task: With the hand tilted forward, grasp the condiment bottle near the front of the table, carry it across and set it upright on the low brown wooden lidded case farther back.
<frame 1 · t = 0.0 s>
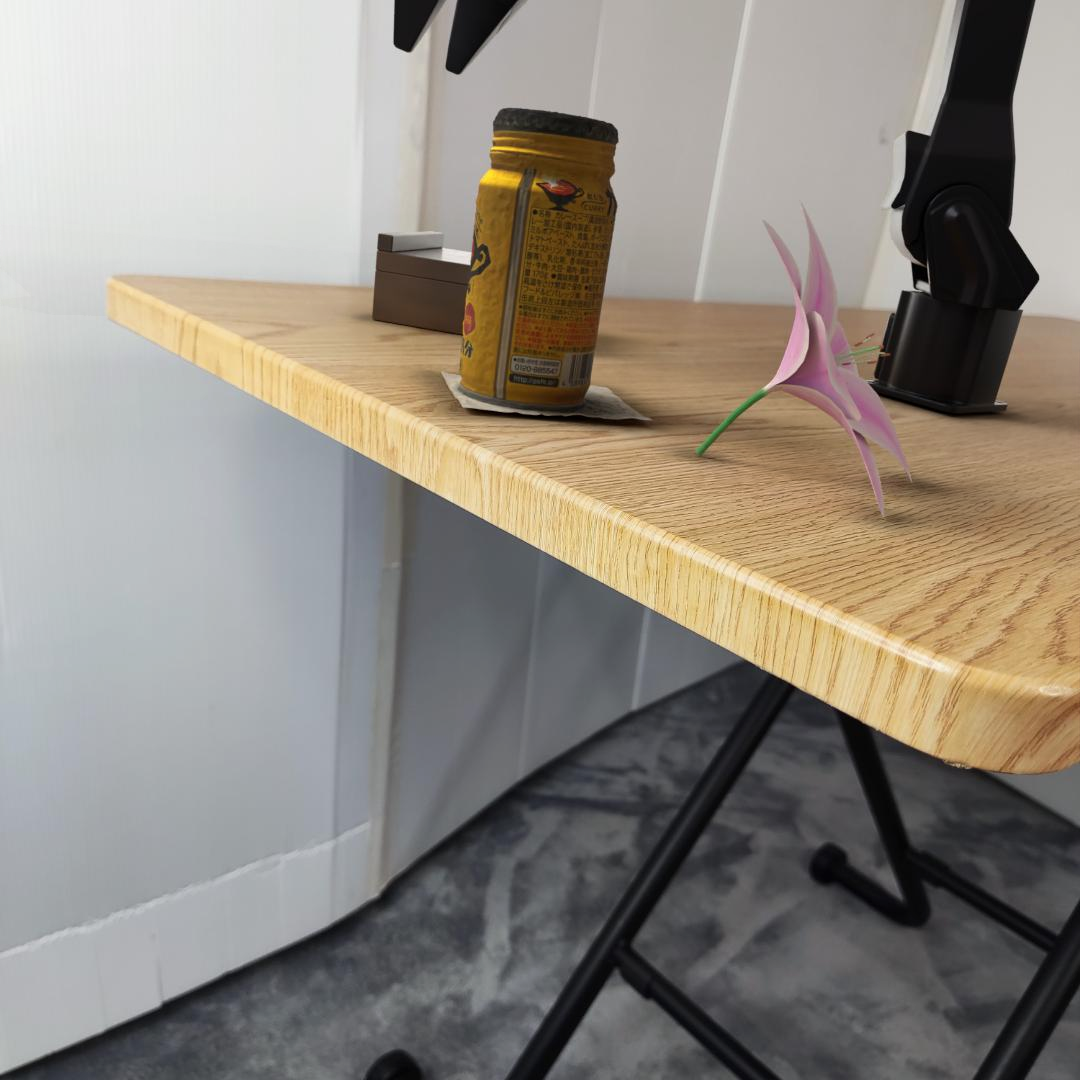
hand: (429, 62, 59), 15 cm above the table, tool pointing down, fingers open, 9 cm apart
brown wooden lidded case: (477, 325, 63), on the table
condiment: (540, 404, 44), on the table
lily: (801, 483, 37), on the table
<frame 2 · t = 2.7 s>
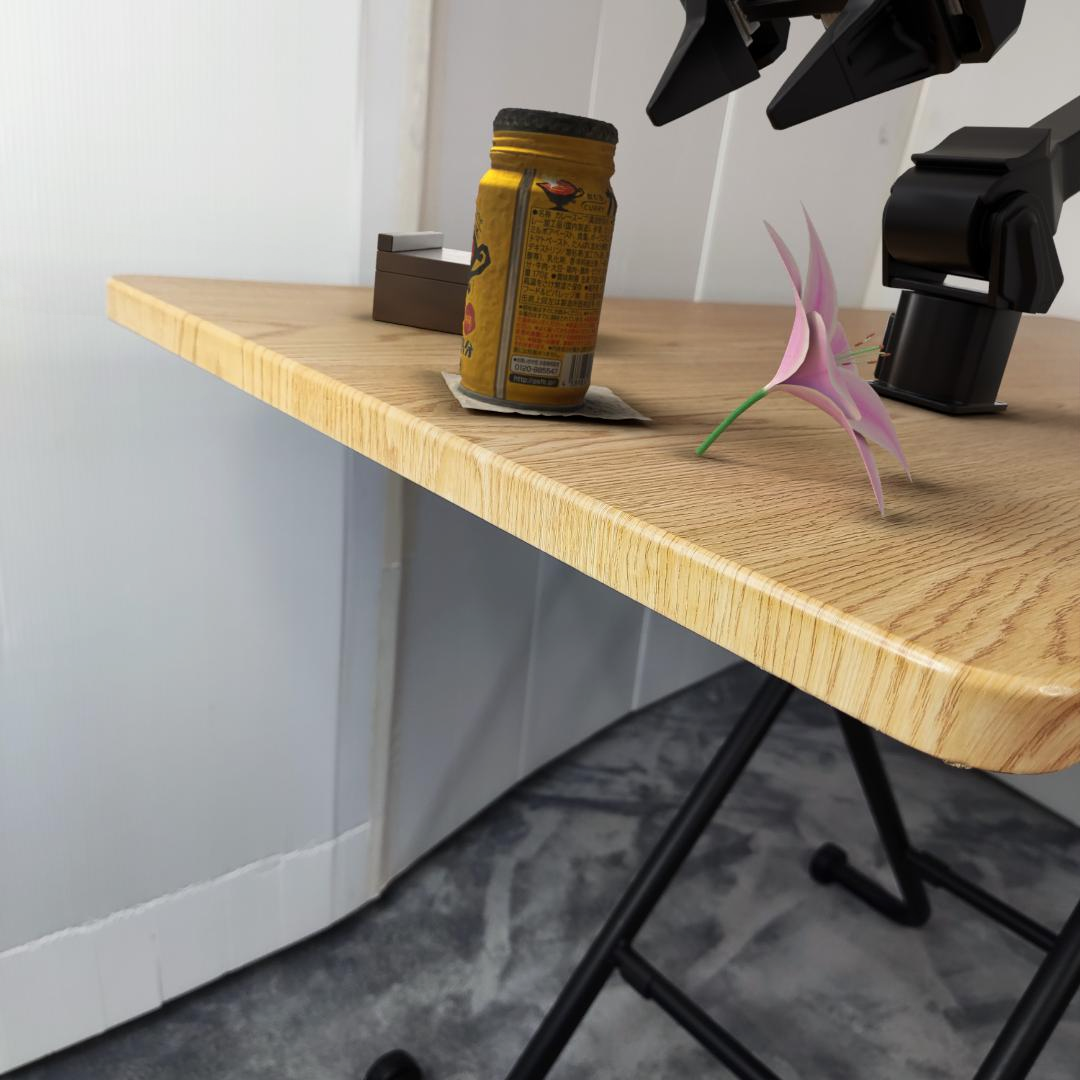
hand: (706, 120, 44), 13 cm above the table, tool tilted 40°, fingers open, 9 cm apart
nothing on the table moved.
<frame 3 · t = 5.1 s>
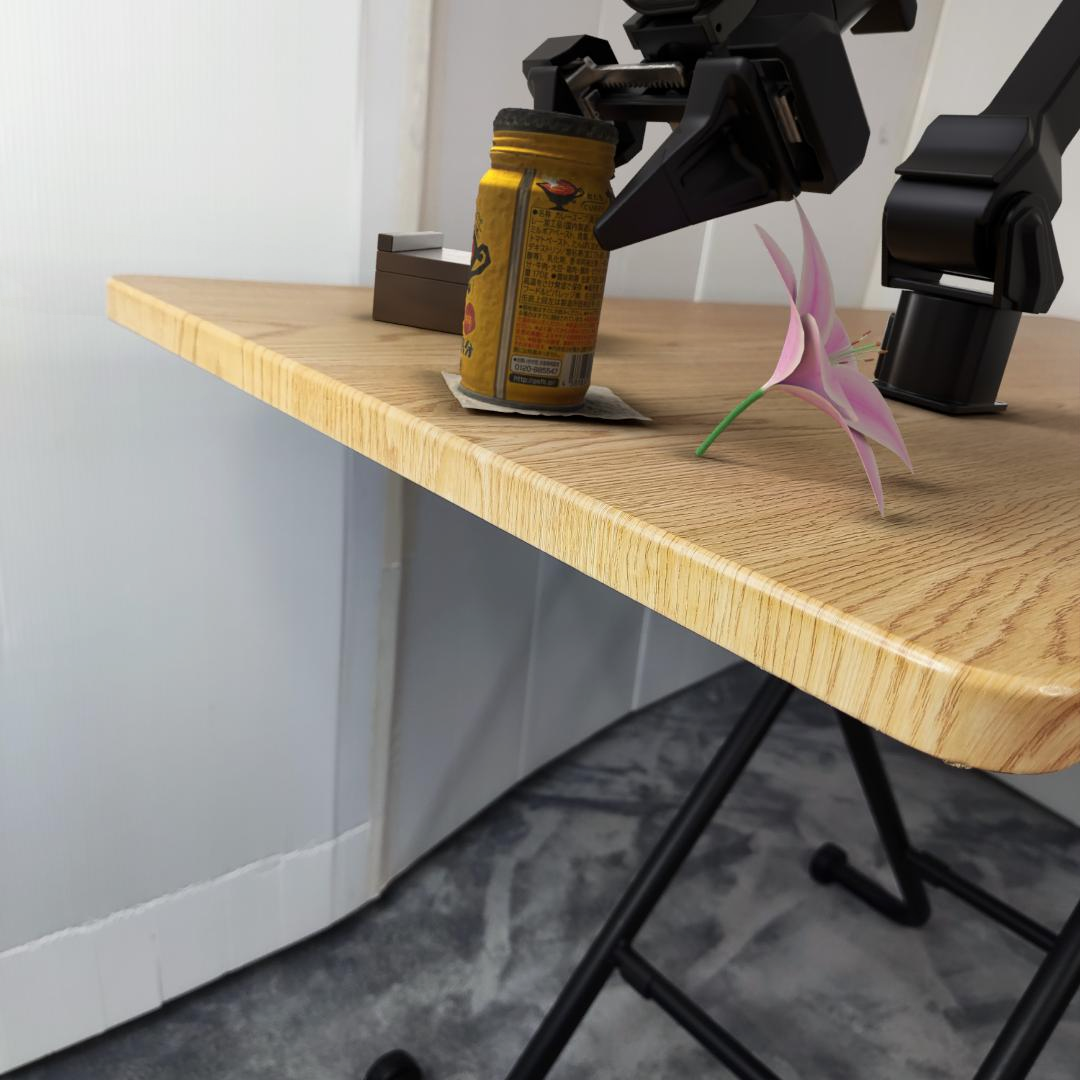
hand: (540, 229, 40), 7 cm above the table, tool tilted 45°, fingers open, 9 cm apart
nothing on the table moved.
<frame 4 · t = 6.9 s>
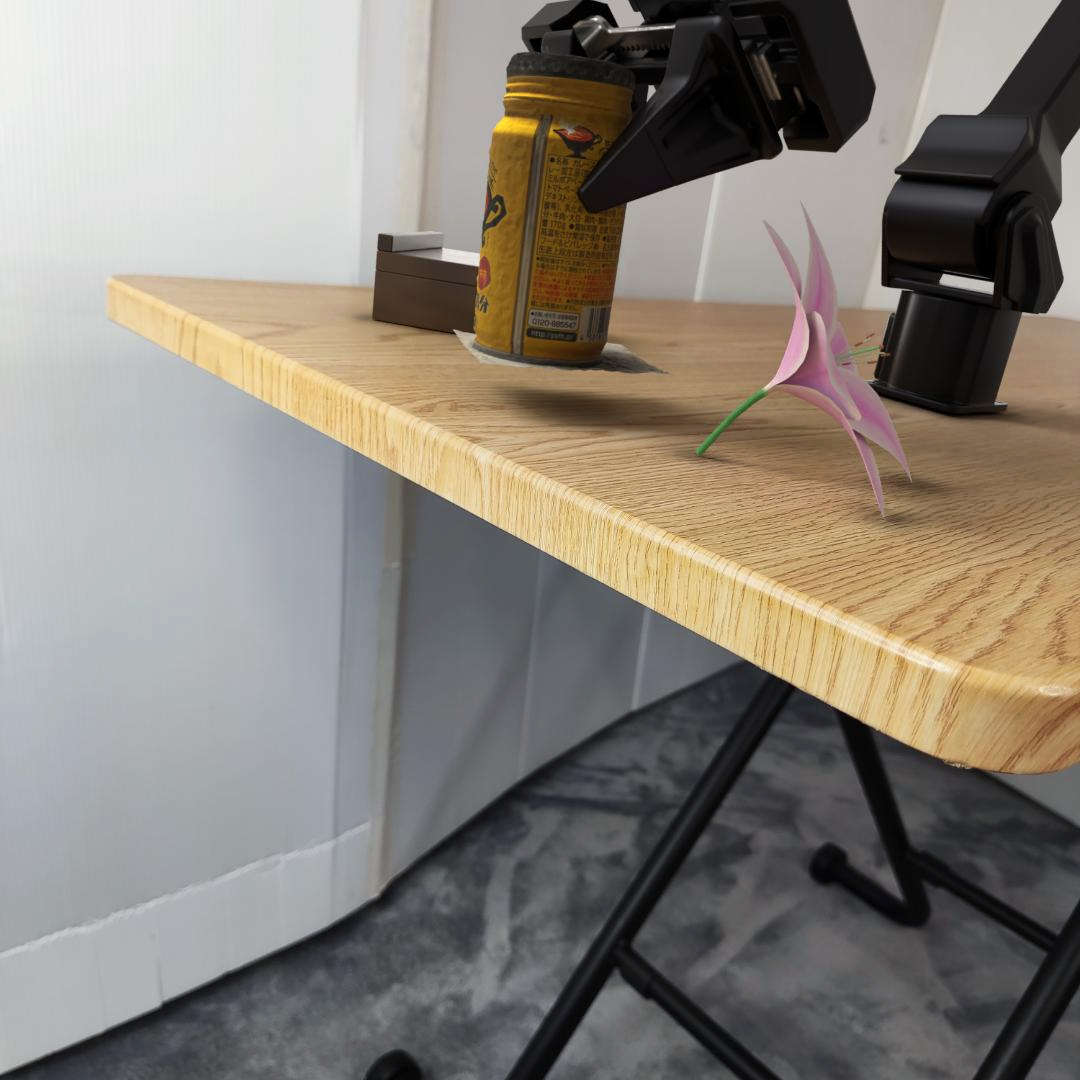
hand: (542, 197, 40), 9 cm above the table, tool tilted 45°, fingers closed on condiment, 6 cm apart
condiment: (556, 361, 43), point 2 cm above the table, touching gripper
everything else where it was.
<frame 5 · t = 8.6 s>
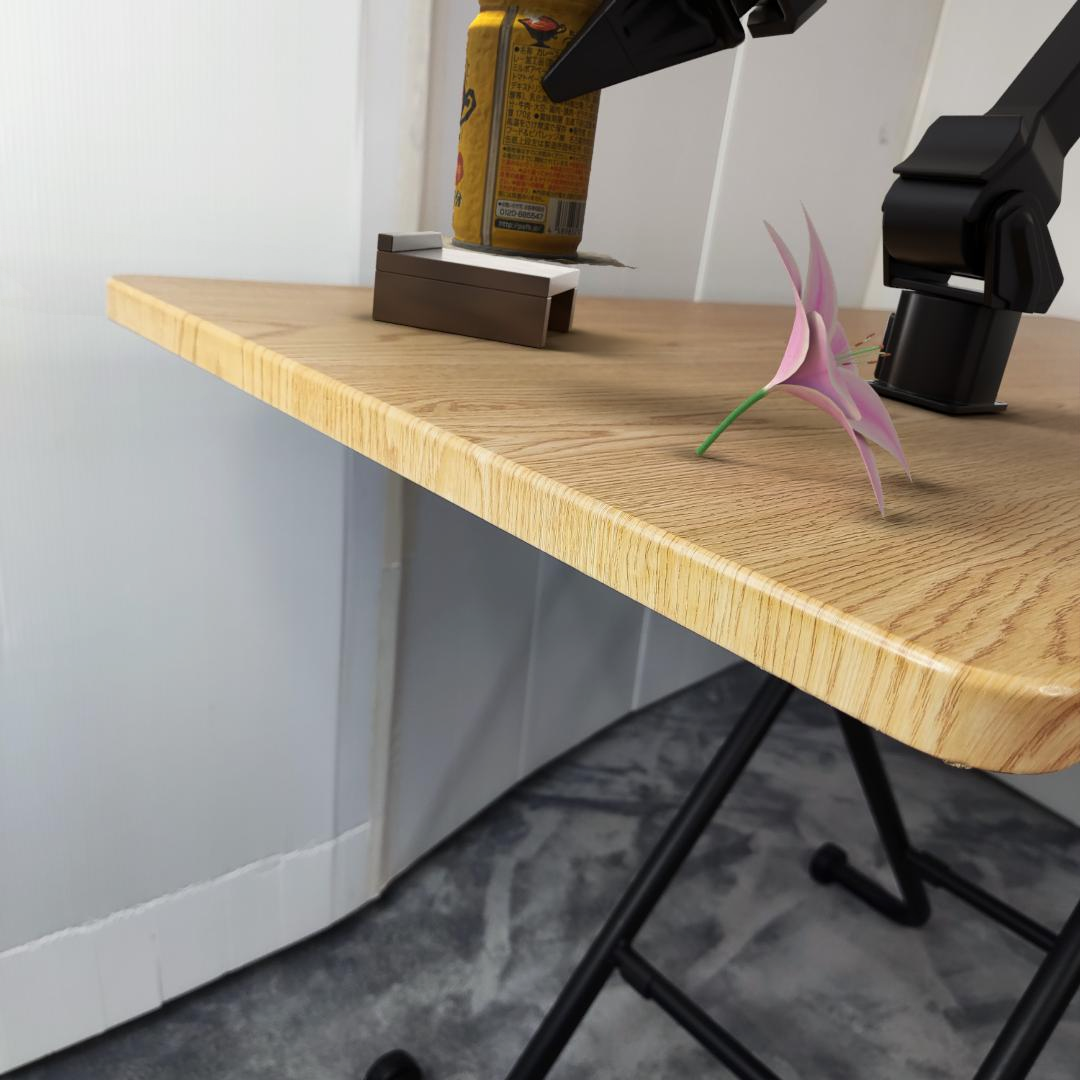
hand: (517, 94, 41), 13 cm above the table, tool tilted 45°, fingers closed on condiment, 6 cm apart
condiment: (533, 261, 44), point 6 cm above the table, touching gripper
everything else where it was.
when the fingers open (12 cm above the table, at t = 11.8 s): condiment stays where it is, resting on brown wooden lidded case.
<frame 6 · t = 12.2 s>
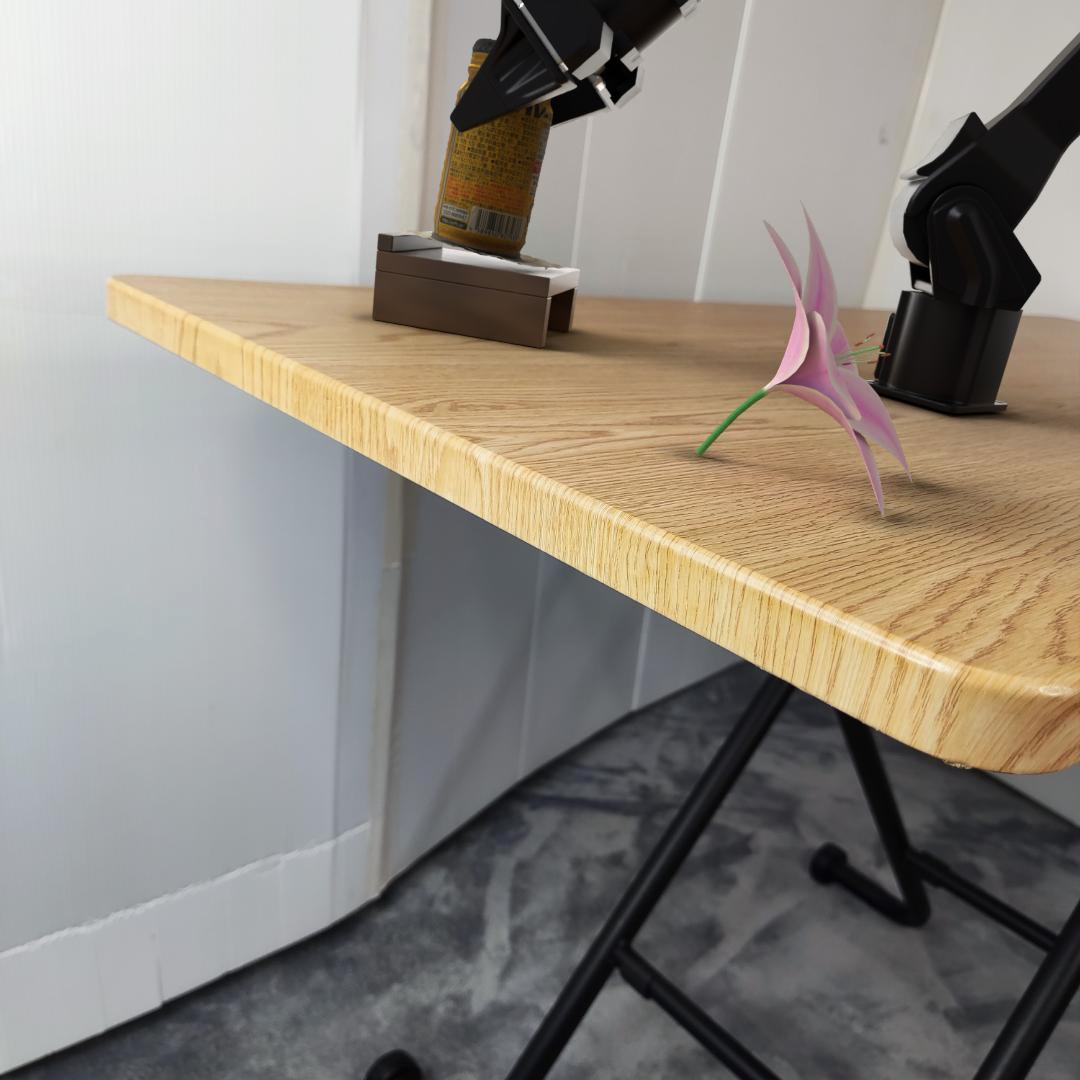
hand: (477, 132, 59), 12 cm above the table, tool tilted 45°, fingers open, 9 cm apart
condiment: (485, 255, 61), point 5 cm above the table, touching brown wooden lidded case
everything else where it was.
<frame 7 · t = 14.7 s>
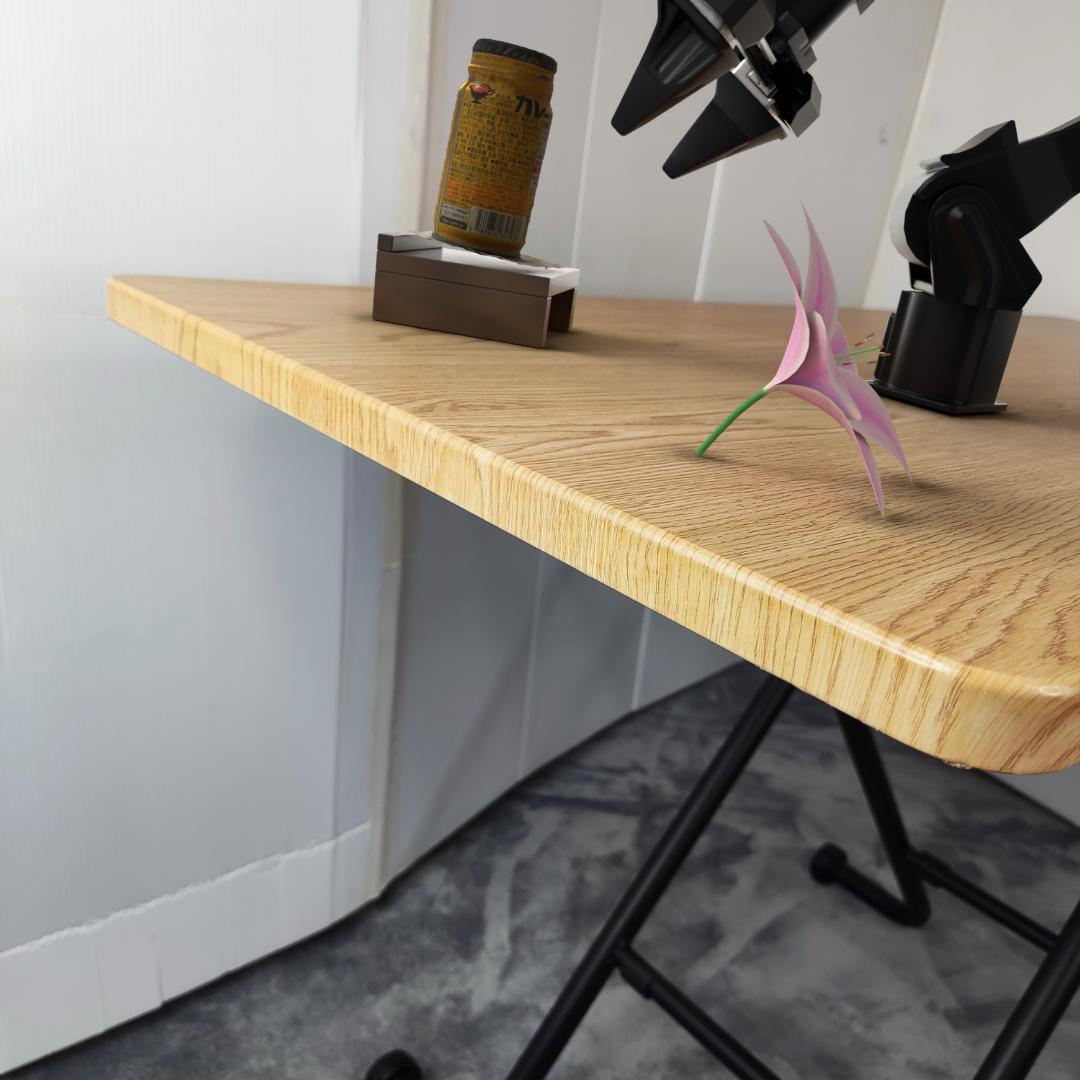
hand: (643, 153, 58), 12 cm above the table, tool tilted 35°, fingers open, 9 cm apart
nothing on the table moved.
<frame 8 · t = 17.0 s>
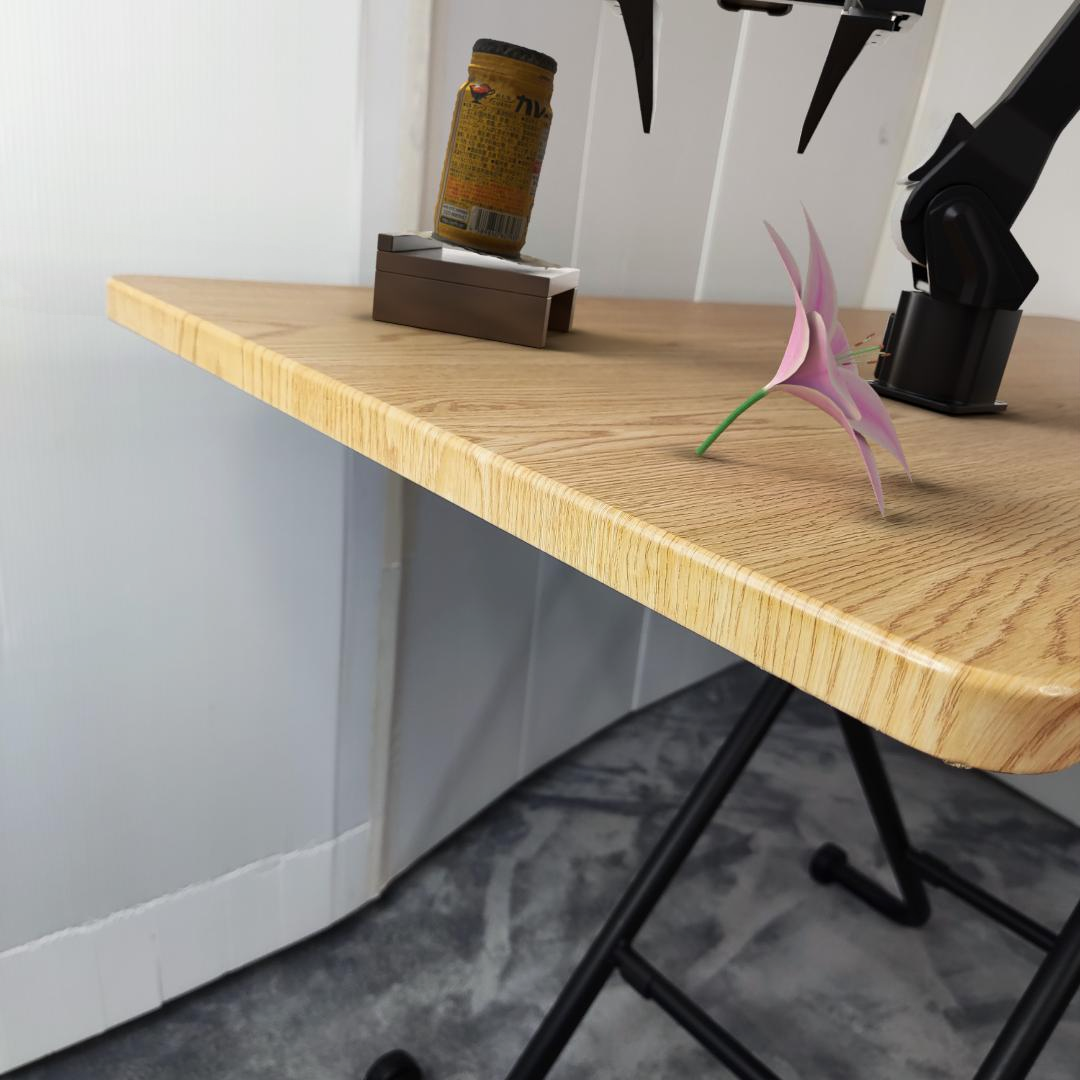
hand: (722, 143, 57), 13 cm above the table, tool pointing down, fingers open, 9 cm apart
nothing on the table moved.
at the end: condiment inside the target area on the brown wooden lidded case (0.4 cm from its centre), point 4.5 cm above the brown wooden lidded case's base; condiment tilted 6° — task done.
